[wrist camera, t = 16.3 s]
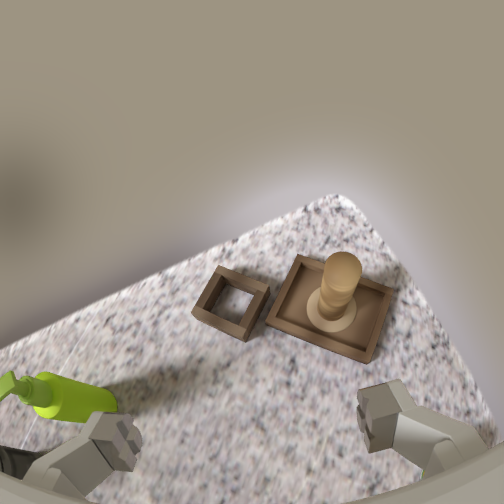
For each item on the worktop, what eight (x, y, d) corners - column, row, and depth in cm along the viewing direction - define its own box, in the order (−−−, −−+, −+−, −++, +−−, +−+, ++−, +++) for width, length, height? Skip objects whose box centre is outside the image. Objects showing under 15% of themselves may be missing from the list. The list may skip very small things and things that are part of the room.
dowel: (349, 299, 42) (366, 259, 32) (339, 325, 41) (355, 291, 31) (323, 290, 44) (331, 246, 33) (312, 314, 42) (318, 277, 32)
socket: (270, 293, 46) (268, 285, 43) (245, 342, 42) (242, 337, 40) (222, 273, 48) (218, 264, 46) (196, 319, 45) (190, 312, 42)
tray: (390, 294, 43) (393, 289, 41) (366, 364, 39) (369, 361, 37) (297, 260, 48) (297, 253, 46) (266, 324, 43) (265, 320, 42)
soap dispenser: (77, 402, 40) (-19, 376, 23) (106, 381, 41) (12, 346, 24) (93, 433, 37) (-6, 423, 20) (124, 413, 39) (27, 396, 21)
